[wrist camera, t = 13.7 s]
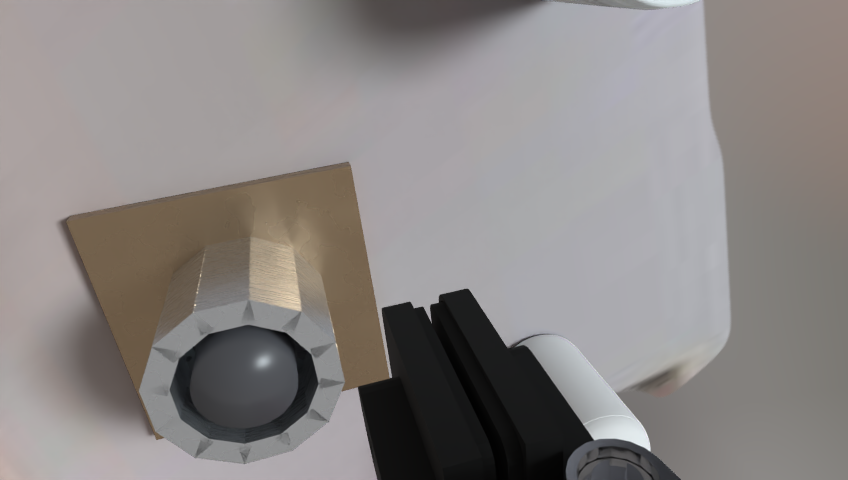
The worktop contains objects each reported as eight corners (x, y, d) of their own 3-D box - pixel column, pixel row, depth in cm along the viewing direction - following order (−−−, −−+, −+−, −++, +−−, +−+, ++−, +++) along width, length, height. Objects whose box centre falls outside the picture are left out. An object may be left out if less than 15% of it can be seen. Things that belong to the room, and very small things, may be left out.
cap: (185, 312, 37) (175, 357, 33) (282, 289, 38) (285, 330, 34) (212, 388, 40) (207, 440, 35) (302, 365, 41) (308, 412, 36)
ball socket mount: (70, 215, 38) (13, 288, 29) (348, 161, 41) (374, 212, 32) (158, 430, 46) (134, 540, 37) (387, 371, 49) (416, 458, 40)
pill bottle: (476, 389, 52) (552, 530, 39) (531, 317, 50) (630, 438, 37) (541, 418, 55) (631, 558, 42) (594, 351, 54) (705, 474, 40)
